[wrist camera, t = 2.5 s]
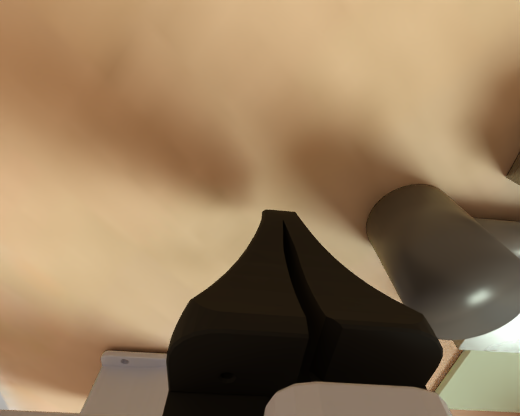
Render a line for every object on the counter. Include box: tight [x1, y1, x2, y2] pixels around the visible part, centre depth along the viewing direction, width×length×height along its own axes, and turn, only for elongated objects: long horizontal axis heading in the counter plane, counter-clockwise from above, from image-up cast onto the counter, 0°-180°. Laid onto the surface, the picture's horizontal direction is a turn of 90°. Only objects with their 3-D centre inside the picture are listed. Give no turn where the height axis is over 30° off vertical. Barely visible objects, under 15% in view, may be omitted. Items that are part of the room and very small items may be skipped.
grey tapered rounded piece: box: [366, 184, 520, 340], centre depth 13 cm, size 10×4×5 cm, turn 84°
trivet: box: [435, 350, 520, 413], centre depth 21 cm, size 8×7×1 cm
